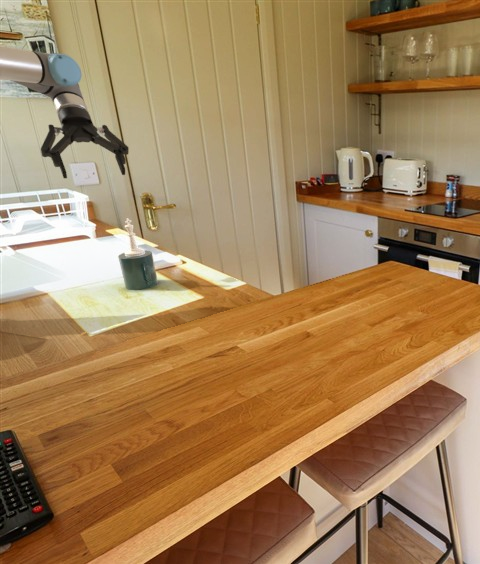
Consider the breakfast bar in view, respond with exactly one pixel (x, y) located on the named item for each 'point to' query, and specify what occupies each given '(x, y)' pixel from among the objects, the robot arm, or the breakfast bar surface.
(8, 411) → the breakfast bar surface
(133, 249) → the chess piece
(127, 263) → the cup
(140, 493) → the breakfast bar surface
